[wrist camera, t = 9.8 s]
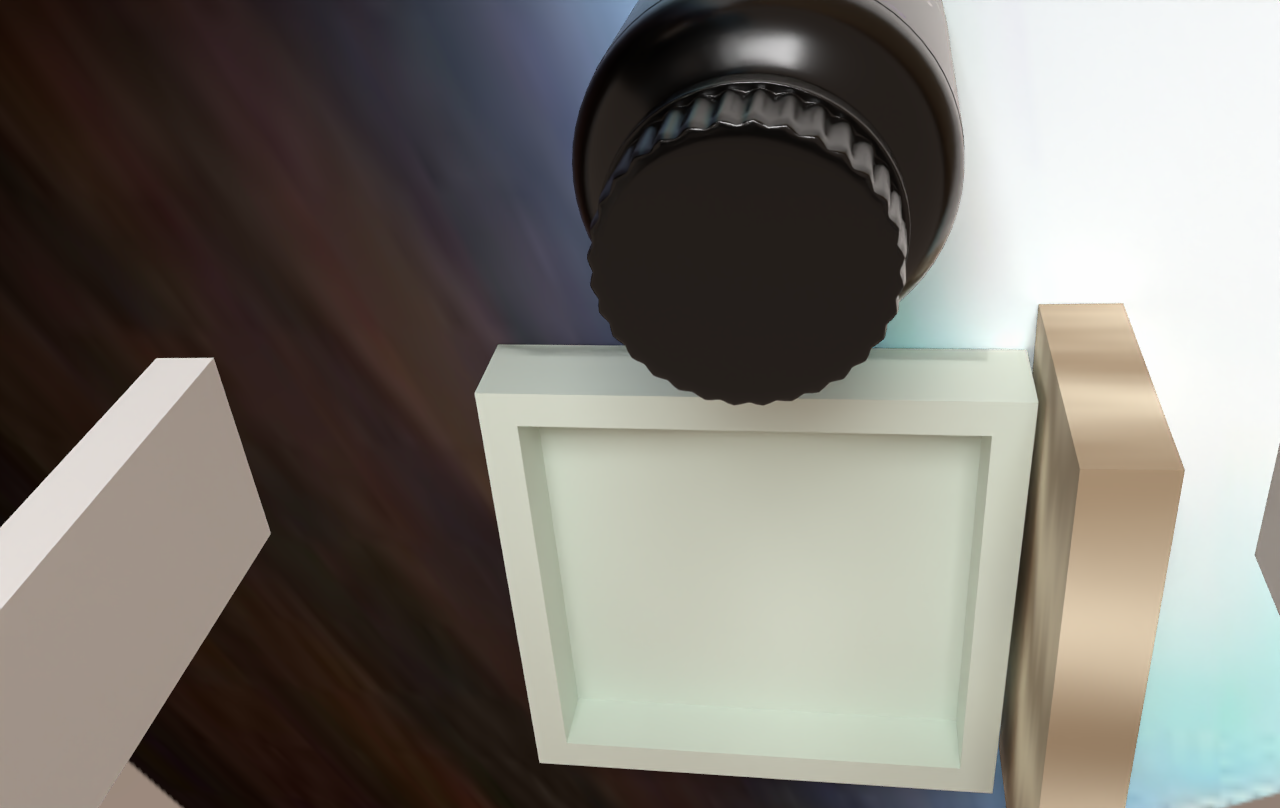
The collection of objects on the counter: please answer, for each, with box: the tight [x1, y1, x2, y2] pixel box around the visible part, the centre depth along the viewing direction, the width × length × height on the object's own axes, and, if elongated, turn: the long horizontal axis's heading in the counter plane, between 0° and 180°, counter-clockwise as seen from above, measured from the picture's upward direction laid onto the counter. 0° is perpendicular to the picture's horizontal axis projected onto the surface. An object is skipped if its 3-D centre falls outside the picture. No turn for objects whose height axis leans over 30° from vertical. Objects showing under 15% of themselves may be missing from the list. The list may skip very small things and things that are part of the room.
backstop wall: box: [999, 303, 1185, 808], centre depth 32 cm, size 16×2×7 cm, turn 5°
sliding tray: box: [475, 344, 1038, 793], centre depth 35 cm, size 14×14×2 cm
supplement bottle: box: [572, 0, 964, 406], centre depth 23 cm, size 7×7×12 cm
